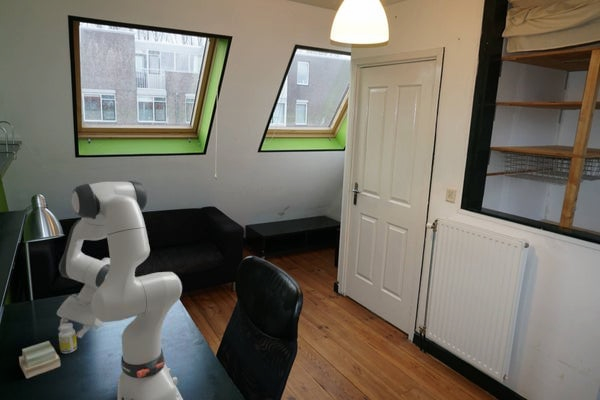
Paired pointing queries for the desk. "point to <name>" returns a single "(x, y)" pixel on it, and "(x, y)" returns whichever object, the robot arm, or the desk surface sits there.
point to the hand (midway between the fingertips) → (69, 333)
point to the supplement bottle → (67, 338)
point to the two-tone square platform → (38, 359)
